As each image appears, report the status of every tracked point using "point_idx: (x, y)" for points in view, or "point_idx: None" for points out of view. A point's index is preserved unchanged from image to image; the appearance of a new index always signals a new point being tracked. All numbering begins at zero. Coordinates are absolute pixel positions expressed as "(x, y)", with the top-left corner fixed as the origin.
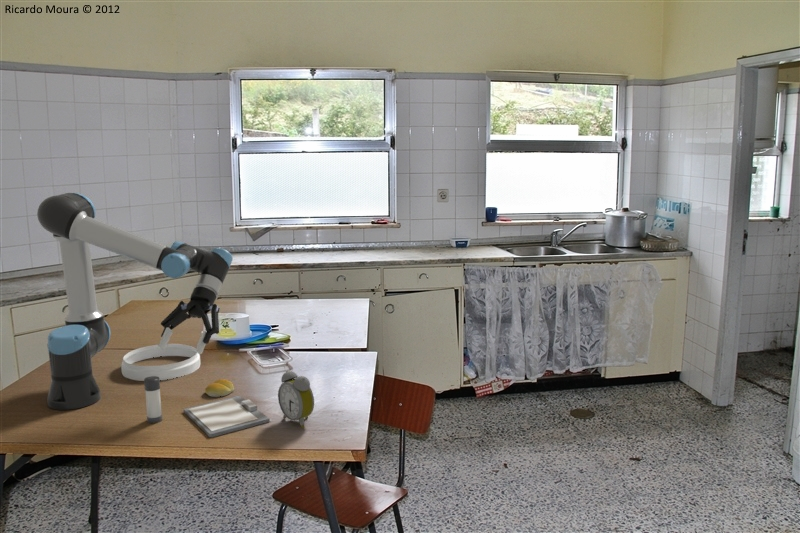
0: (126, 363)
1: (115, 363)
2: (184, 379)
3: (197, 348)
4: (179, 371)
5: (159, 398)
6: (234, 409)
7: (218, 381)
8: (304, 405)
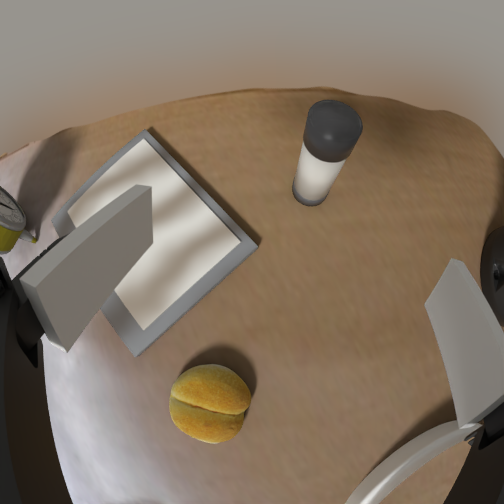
0: None
1: None
2: (352, 465)
3: (132, 188)
4: (374, 481)
5: (300, 157)
6: None
7: (210, 418)
8: None
